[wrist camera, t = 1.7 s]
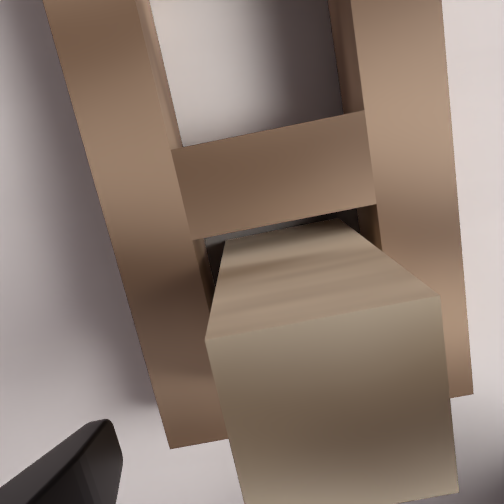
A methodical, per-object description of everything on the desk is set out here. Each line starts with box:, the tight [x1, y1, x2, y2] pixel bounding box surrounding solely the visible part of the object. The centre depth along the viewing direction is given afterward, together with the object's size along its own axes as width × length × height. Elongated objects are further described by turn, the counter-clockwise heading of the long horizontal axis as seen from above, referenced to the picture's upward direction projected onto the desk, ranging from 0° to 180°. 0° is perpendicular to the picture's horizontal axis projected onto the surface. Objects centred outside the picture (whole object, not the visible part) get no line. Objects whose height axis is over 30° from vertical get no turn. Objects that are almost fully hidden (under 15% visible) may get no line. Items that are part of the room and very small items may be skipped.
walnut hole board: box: [42, 0, 473, 449], centre depth 12 cm, size 24×10×3 cm, turn 11°
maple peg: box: [205, 218, 459, 504], centre depth 12 cm, size 4×4×8 cm
